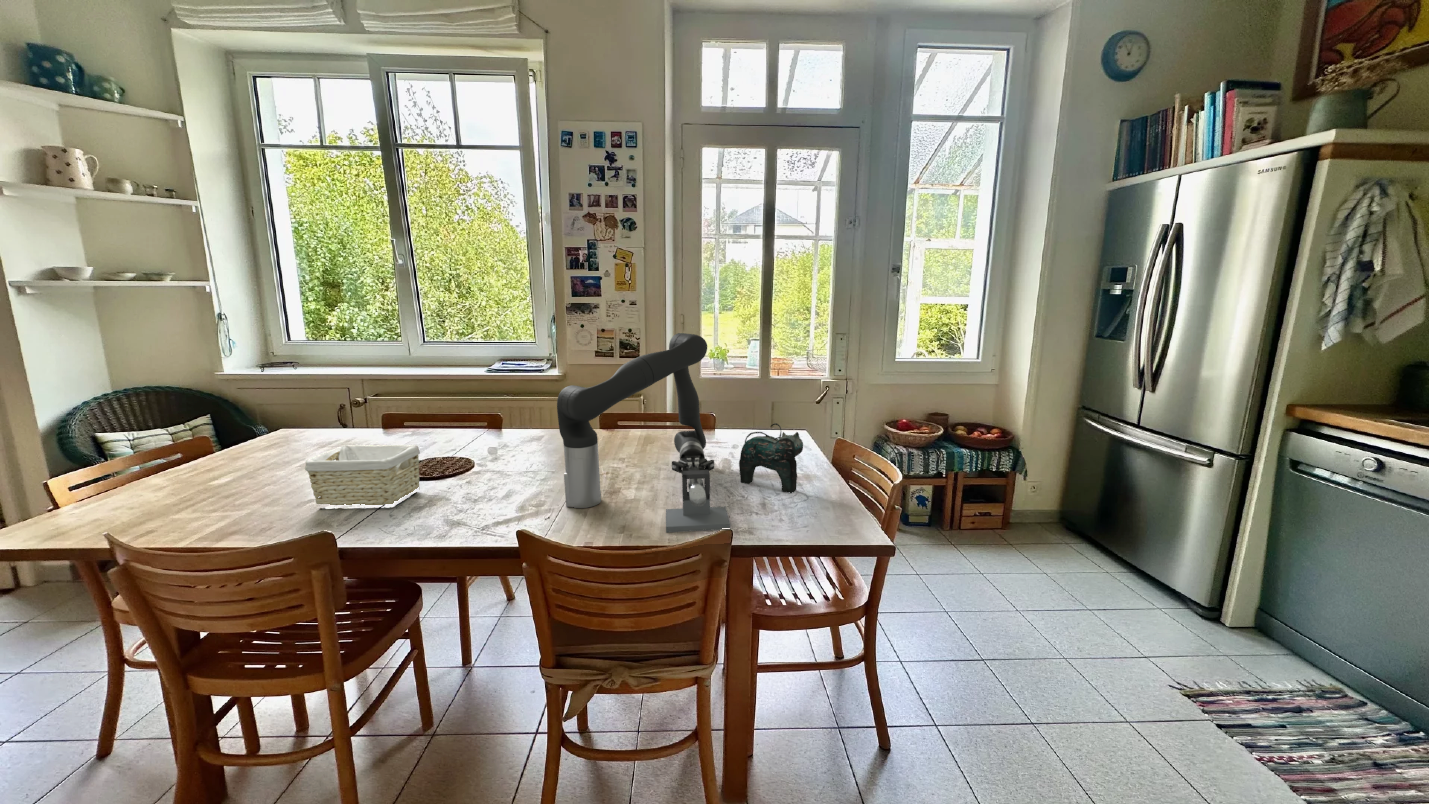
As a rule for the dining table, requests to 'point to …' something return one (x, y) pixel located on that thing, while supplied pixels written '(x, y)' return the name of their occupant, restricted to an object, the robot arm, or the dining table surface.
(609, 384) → the robot arm
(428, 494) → the dining table surface
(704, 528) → the base plate
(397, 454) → the storage basket
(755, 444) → the ceramic cat
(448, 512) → the dining table surface
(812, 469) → the dining table surface
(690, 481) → the steel peg
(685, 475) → the rubber collar
